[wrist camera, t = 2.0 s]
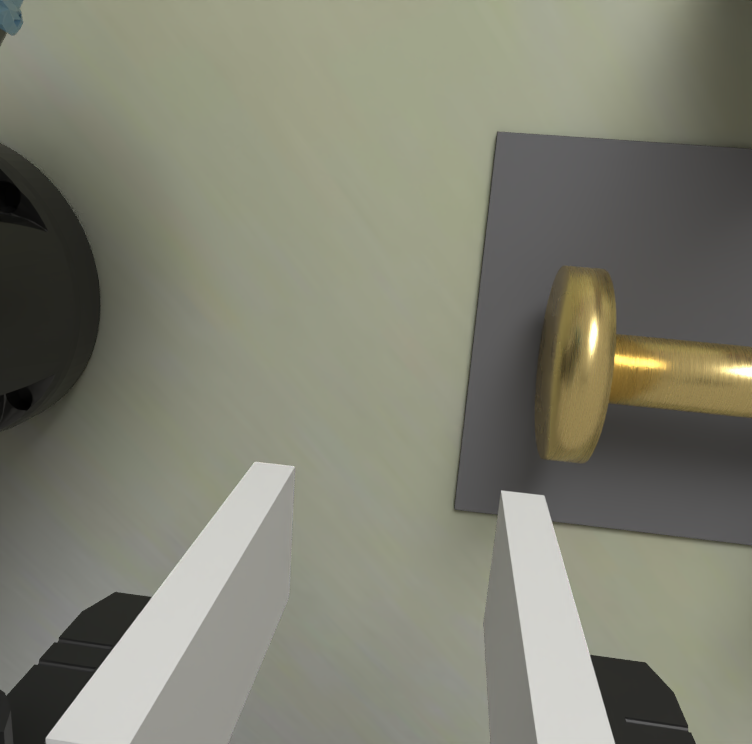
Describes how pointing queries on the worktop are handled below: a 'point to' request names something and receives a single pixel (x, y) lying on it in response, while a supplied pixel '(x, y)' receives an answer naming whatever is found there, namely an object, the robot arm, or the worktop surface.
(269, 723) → the worktop surface
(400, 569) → the worktop surface
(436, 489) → the worktop surface
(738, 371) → the pin
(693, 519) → the mat
